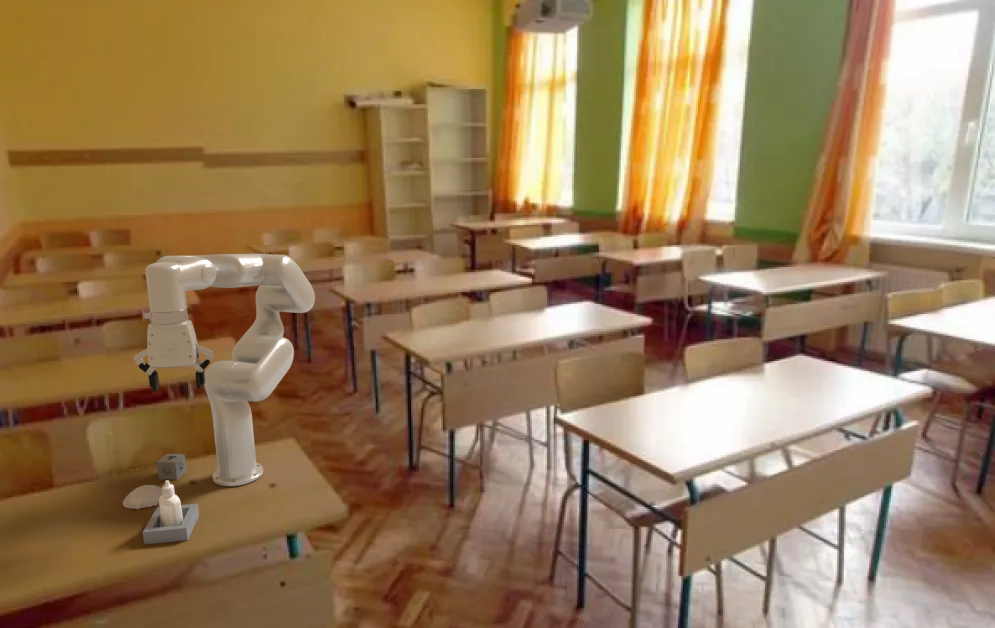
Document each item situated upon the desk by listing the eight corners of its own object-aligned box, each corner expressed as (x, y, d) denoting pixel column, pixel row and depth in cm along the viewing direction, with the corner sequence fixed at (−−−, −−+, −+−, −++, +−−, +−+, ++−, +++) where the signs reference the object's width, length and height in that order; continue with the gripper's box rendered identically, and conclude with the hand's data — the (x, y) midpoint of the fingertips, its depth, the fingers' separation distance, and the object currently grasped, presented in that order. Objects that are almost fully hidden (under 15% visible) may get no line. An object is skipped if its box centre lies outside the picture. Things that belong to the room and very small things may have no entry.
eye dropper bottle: (163, 537, 156) (156, 488, 153) (161, 525, 161) (155, 478, 158) (184, 532, 158) (178, 483, 155) (182, 521, 163) (176, 473, 160)
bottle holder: (158, 518, 164) (157, 507, 163) (199, 515, 165) (198, 503, 164) (144, 544, 153) (142, 532, 152) (187, 540, 155) (186, 528, 154)
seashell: (112, 501, 166) (129, 474, 175) (118, 519, 168) (134, 491, 177) (157, 498, 167) (170, 471, 176) (162, 516, 169) (175, 489, 178)
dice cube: (186, 471, 188) (184, 454, 187) (177, 480, 183) (175, 462, 182) (168, 470, 188) (166, 453, 187) (158, 479, 183) (156, 462, 182)
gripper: (123, 322, 153) (133, 396, 157) (206, 319, 156) (214, 391, 160) (134, 315, 160) (143, 385, 164) (213, 311, 163) (220, 380, 167)
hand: (178, 388), depth 162 cm, fingers open, 9 cm apart
